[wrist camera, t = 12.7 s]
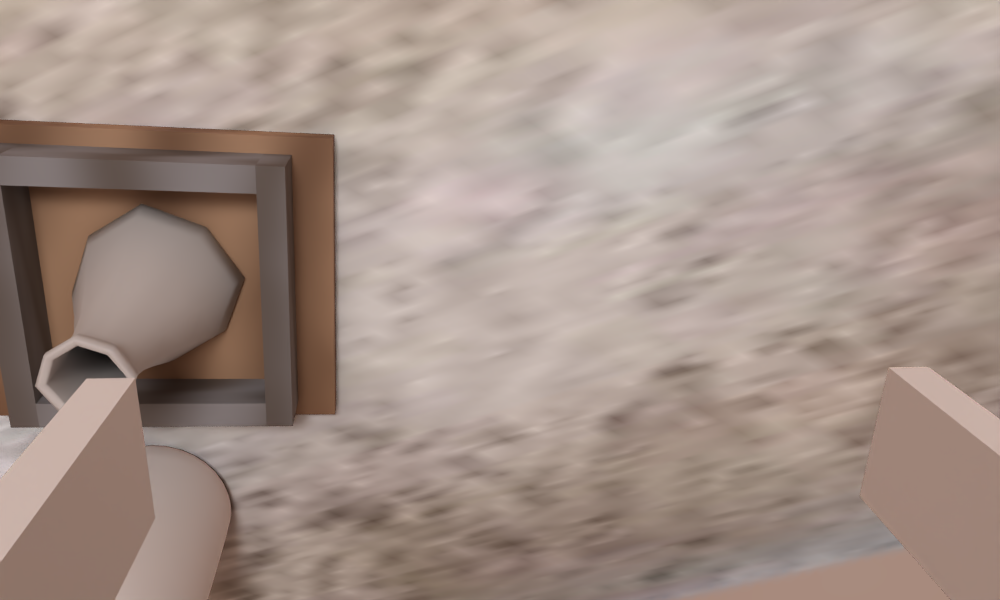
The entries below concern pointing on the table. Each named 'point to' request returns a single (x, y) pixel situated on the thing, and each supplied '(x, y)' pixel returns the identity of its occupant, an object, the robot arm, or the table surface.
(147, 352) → the flask
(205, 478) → the milk bottle
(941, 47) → the table surface
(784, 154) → the table surface
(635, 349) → the table surface
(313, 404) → the rectangular tray
